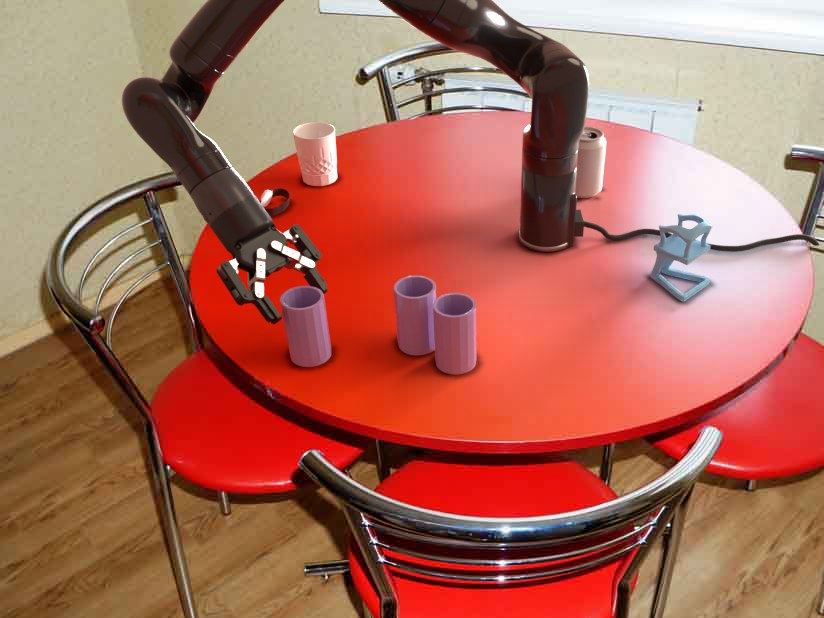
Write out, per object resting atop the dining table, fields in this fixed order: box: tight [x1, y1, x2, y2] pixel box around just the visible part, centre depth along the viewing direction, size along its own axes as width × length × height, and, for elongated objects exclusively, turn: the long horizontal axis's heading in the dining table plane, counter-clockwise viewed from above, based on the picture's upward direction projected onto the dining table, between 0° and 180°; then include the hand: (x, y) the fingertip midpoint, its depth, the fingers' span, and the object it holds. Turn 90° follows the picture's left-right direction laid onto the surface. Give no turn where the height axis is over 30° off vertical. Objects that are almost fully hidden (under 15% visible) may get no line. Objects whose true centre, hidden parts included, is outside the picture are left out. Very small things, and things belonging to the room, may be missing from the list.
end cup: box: [279, 285, 333, 368], centre depth 121 cm, size 6×6×10 cm
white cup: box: [292, 121, 338, 187], centre depth 164 cm, size 8×8×10 cm
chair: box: [649, 213, 713, 303], centre depth 136 cm, size 8×8×12 cm
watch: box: [259, 187, 291, 217], centre depth 157 cm, size 8×5×4 cm, turn 159°
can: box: [575, 125, 607, 199], centre depth 161 cm, size 8×8×12 cm
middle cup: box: [393, 274, 437, 356], centre depth 123 cm, size 6×6×10 cm
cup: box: [433, 292, 477, 376], centre depth 120 cm, size 6×6×10 cm
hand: (301, 307), depth 119 cm, fingers open, 8 cm apart
